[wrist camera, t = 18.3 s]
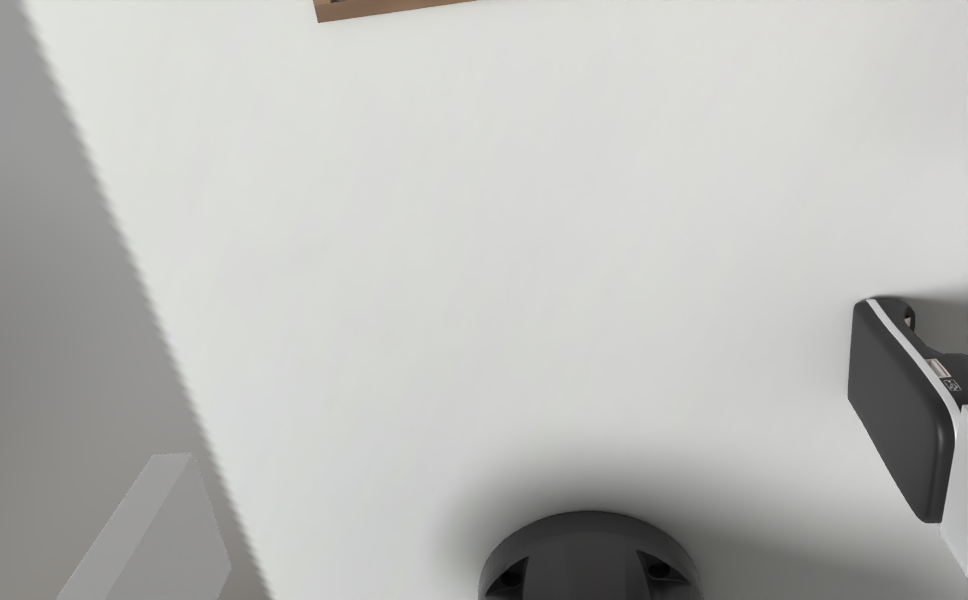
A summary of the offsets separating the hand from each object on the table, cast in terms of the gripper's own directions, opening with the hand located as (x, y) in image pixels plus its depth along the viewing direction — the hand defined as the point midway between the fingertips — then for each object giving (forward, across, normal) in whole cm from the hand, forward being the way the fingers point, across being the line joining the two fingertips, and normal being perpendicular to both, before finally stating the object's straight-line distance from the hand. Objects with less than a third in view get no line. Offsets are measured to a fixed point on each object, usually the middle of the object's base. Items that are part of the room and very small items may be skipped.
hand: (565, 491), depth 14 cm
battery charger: (+30, -18, +16) cm, 38 cm away
